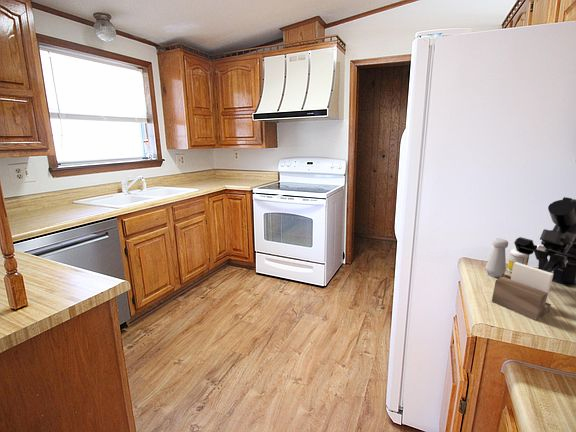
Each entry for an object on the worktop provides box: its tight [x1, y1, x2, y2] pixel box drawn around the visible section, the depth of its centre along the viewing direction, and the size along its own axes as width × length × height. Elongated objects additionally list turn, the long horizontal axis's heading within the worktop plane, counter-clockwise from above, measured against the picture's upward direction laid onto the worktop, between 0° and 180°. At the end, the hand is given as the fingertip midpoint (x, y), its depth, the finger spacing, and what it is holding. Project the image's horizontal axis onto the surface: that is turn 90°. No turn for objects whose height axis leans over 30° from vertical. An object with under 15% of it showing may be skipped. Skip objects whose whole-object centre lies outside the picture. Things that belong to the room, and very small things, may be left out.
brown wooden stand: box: [491, 276, 552, 321], centre depth 88 cm, size 8×11×7 cm
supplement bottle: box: [506, 244, 530, 273], centre depth 109 cm, size 5×5×10 cm
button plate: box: [510, 262, 553, 301], centre depth 89 cm, size 2×9×8 cm, turn 32°
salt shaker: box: [485, 237, 509, 279], centre depth 106 cm, size 6×6×13 cm
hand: (539, 276), depth 92 cm, fingers closed
